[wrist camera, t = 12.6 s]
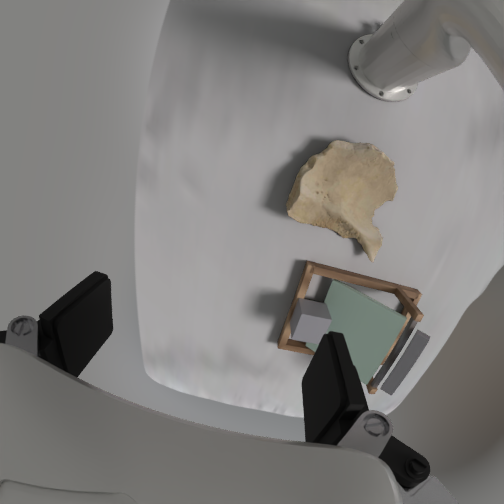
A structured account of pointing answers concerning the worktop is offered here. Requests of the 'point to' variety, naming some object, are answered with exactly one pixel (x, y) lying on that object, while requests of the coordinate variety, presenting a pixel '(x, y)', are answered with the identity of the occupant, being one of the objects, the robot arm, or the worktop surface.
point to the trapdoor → (370, 333)
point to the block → (309, 321)
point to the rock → (344, 191)
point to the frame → (403, 293)
